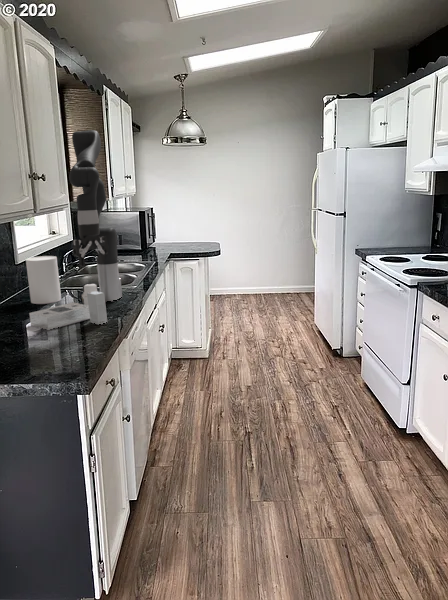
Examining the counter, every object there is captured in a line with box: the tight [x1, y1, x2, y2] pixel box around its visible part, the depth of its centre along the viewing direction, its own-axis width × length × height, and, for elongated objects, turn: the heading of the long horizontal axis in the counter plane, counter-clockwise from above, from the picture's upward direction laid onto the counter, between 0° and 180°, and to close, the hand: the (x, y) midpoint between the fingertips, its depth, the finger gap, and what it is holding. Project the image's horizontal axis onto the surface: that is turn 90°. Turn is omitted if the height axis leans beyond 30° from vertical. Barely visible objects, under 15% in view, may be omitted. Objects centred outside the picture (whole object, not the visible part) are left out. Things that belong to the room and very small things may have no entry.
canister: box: [25, 255, 62, 305], centre depth 237 cm, size 14×14×20 cm
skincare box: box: [87, 291, 108, 325], centre depth 198 cm, size 6×4×12 cm
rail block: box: [28, 301, 90, 331], centre depth 202 cm, size 20×12×5 cm, turn 142°
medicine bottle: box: [81, 282, 99, 306], centre depth 216 cm, size 7×7×12 cm
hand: (92, 265), depth 194 cm, fingers open, 8 cm apart
